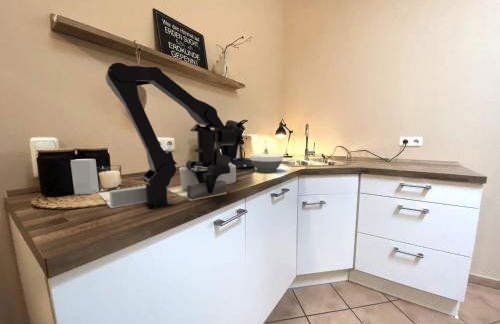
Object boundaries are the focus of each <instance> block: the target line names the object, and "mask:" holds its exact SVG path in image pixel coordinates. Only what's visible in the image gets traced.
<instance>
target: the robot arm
mask: <svg viewBox="0 0 500 324" xmlns="http://www.w3.org/2000/svg"><path fill="white" fill-rule="evenodd" d="M105 81H106V83H107V85H108V87H109V88H110V90H111V91H112V92H113V94H114V95H115V96H116V97H117V98H118V99H119V101H120V103H122V104H123V106H124V108H125V110H126V112H127V115H128V117H129V119H130V121H131V123H132V125H133V126H134V130H135V131H136V132H137V134H138V137H139V139H140V141H141V144H142V145H143V148H144V149H145V151H146V157H147V163H148V166H149V169H148V170H147V171H146V172H145V173H144V174H143V175H142V179H143V182H144V183H146V184H145V186H146V199H147V202H143V203H142V206H144V207H145V208H147V209H148V210H153V209H157V208H163V207H168V206H172V205H173V202H171V201H169V199H168V190H167V188H168V186H170V183H171V180H172V178H174V176H175V174H176V172H177V167H176V166H177V164H178V163H177V162H176V161H175V159H174V156H173V153H172V151H170V150H165V149H163V148H162V145H161V143H160V141H159V139H158V137H157V135H156V133H155V131H154V129H153V128H154V127H153V126H152V124H151V122H150V120H149V118H148V116H147V113H146V111H145V109H144V106H143V105H142V103H141V101H140V96H139V90H138V86H145V85H153V86H154V87H155V88H157V89H158V90H159V91H160V92H162V93H163V94H165V95H166V96H168V98H170V99H171V100H173V101H174V102H176V103H177V104H178V105H179V106H181V108H183V109H185V110H186V111H187V113H188V114H189V116H190V117H191V118H192V119H193V120H194V122H195V124H194V125H193V127H192V128H191V129H190V132H196V133H197V135H196V136H197V139H196V140H197V142H196V143H197V148H195V149H194V150H195V151H194V152H195V153H197V159H193V160H192V159H191V160H187V162H186V163H185V167H186V169H192V168H194V170H192V172H193V174H194V176H195V177H196V179H197V181H198V183H206V186H207V189H208V192H209V193H212V192H213V189H214V186H215V183H216V180H217V178H218V177H219V176H220V175H222V174H227V173H230V166H229V163H231V157H230V156H228V155H224V154H222V153H220V151H219V149H218V148H216V144H217V146H234V145H235V144H236V143H237V141H238V135H237V132H236V129H234V125H224V123H223V122H222V119H221V118H220V117H219V116H218V110H217V109H216V108H215V107H214V106H212V105H210V104H209V103H207V102H205V101H202V100H200V99H197V98H196V97H194V96H193V95H192V94H191V93H189V92H188V91H187V90H186V89H184V88H183V87H182V86H180V85H179V84H178V83H177V82H175V81H174V79H172V78H171V77H169V76H168V75H167V74H165V72H163V71H162V70H161V68H159V67H158V66H141V65H127V64H125V63H123V62H114V63H112V64H110V65H109V66H108V67H107V72H106V74H105Z"/></svg>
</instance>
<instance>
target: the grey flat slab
mask: <svg viewBox="0 0 500 324" xmlns="http://www.w3.org/2000/svg"><path fill="white" fill-rule="evenodd" d="M98 195H99V197H100V198H101V199H102V198H103V199H104V200H106V199H109V198H110V202H107V203H106V205H107V206H108V207H109V208H110V209H115V208H120V207H126V206H130V205H131V206H132V205H136V204H143V202H147V199H146V185H142V186H134V187H127V188H121V189H120V188H119V189H113V190H109V191H106V192H98ZM103 199H102V200H103ZM104 200H103V201H104Z"/></svg>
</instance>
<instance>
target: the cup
mask: <svg viewBox="0 0 500 324" xmlns="http://www.w3.org/2000/svg"><path fill="white" fill-rule="evenodd" d="M178 169H179V177H180V186H182V188H183V189H185V190H187V185H193V184H199V183H198V181H197V179H196V177H195V176H194V174H193V172H192V170H194V168H192V169H186V166H181V167H179V168H178Z"/></svg>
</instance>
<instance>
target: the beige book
mask: <svg viewBox="0 0 500 324" xmlns="http://www.w3.org/2000/svg"><path fill="white" fill-rule="evenodd" d="M167 192H170V193H172V194H174V195H177V196H179V197H181V198H183V199H185V200H187V201H189V202H192V201H193V202H194V201H197V200H202V199H207V198H211V197H216V196H221V195H227V194H228V192H227V184H226V181H222V180H219V181H216V183H215V186H214V189H213V192H212V193H209V192H208V189H207V186H206V183H199V184H193V185H187V190H185V189H183V188H182V185H179V186H174V187H173V186H172V187H167Z"/></svg>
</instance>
